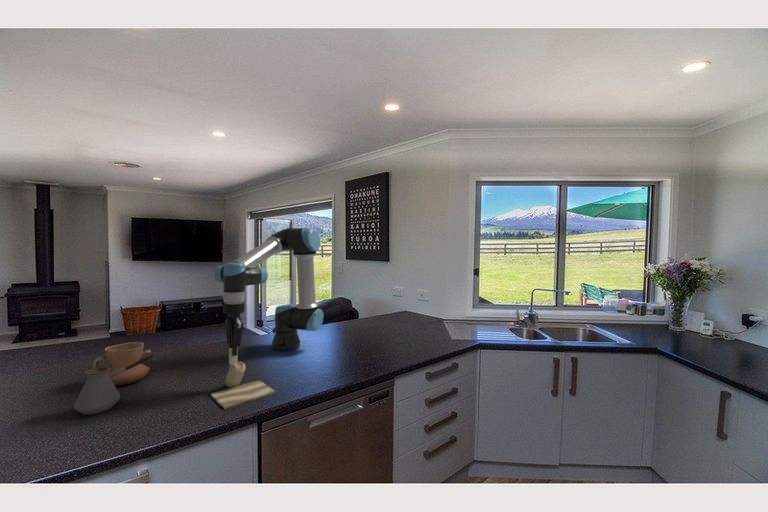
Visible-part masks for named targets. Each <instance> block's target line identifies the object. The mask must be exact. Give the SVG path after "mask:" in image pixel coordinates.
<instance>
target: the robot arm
mask: <svg viewBox="0 0 768 512" xmlns="http://www.w3.org/2000/svg"><path fill="white" fill-rule="evenodd" d="M320 246H321V237H320V235H319V232H318V231H317V230H316V229H314V228H311V227H309V228H308V227H299V228H297V227H295V228H294V227H293V228H292V227H289V228H288V227H287V228H283V229H281V230H279V231H276V232H275V233H274V234H271V235H270V236H268V237H266V240H265V241H264V242H263V243H260V244H259V245H257V246H255V247H254V248H253V249H251V250H250V251H247V252H246V253H245V254H243V255H241V256H240V257H238V258H237V259H235V260H233V261H232V262H226V263H224V264H223V265H218V266H217V267H216V268H215V269H214V272H213V276H214V280H216V282H218V283H223V294H222V295H221V297H222V298H223V301H222V302H223V305H222V307H223V308H222V312H223V314H225V315H227V317H226V318H224V323H225V334H226V335H225V337H226V344H228V364H229V365H230V366H231V364H232V363H233V362H237V361H238V358H239V357H238V356H239V355H238V352H239V349H238V348H239V347H240V346H241V343H242V335H243V334H242V333H243V327H244V322H242V319H241V314H243V313H245V308H246V307H245V306H246V305H245V301H246V287H247V286H255V285H256V286H257V285H261V284H264V283H266V282H267V279H268V276H269V274H268V270H267V269H266V268H265V267H264V266H259V265H261V264H262V263H264V262H265V261H267V260H268V259H269V258H271V257H272V256H274V255H275V254H276V255H278V254H280V253H282V252H284V251H285V252H286V251H292V255H293V256H294V257H295V260H296V276H297V277H296V278H297V290H298V291H297V293H298V295H297V296H298V303H288V304H281V305H278V306H276V307H275V310H274V311H275V313H274V335H273V338H272V341H271V347H270V348H271V349H272V350H274V351H279V352H281V351H284V352H286V351H293V350H296V349H298V348H300V347H301V340H300V337H299V334H298V330H299V331H300V330H301V331H306V332H315V331H317V330H319V329H320V328H321V325H322V324H323V322H324V314H325V313H324V311H323V310H322V309H321V308H320V307H319V303H318V302H317V300H316V286H315V285H316V283H315V266H314V265H315V264H314V263H315V262H314V257H315V255H317V251H319V249H320Z"/></svg>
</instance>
